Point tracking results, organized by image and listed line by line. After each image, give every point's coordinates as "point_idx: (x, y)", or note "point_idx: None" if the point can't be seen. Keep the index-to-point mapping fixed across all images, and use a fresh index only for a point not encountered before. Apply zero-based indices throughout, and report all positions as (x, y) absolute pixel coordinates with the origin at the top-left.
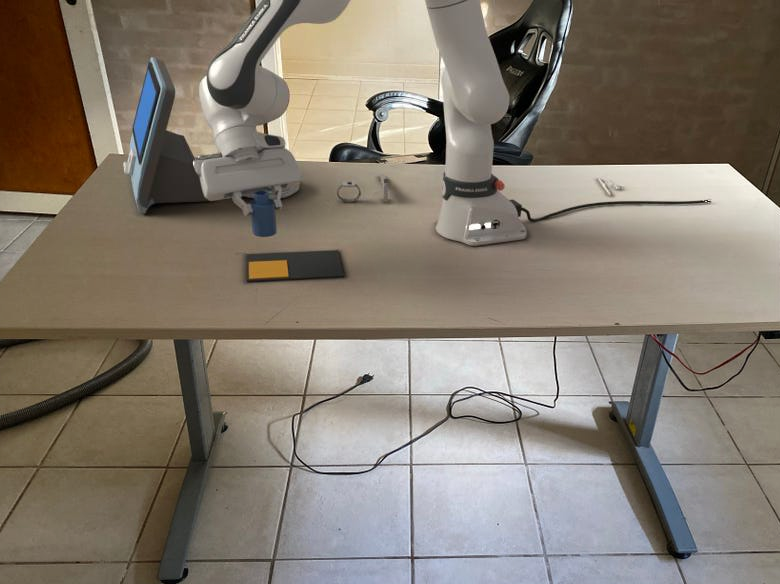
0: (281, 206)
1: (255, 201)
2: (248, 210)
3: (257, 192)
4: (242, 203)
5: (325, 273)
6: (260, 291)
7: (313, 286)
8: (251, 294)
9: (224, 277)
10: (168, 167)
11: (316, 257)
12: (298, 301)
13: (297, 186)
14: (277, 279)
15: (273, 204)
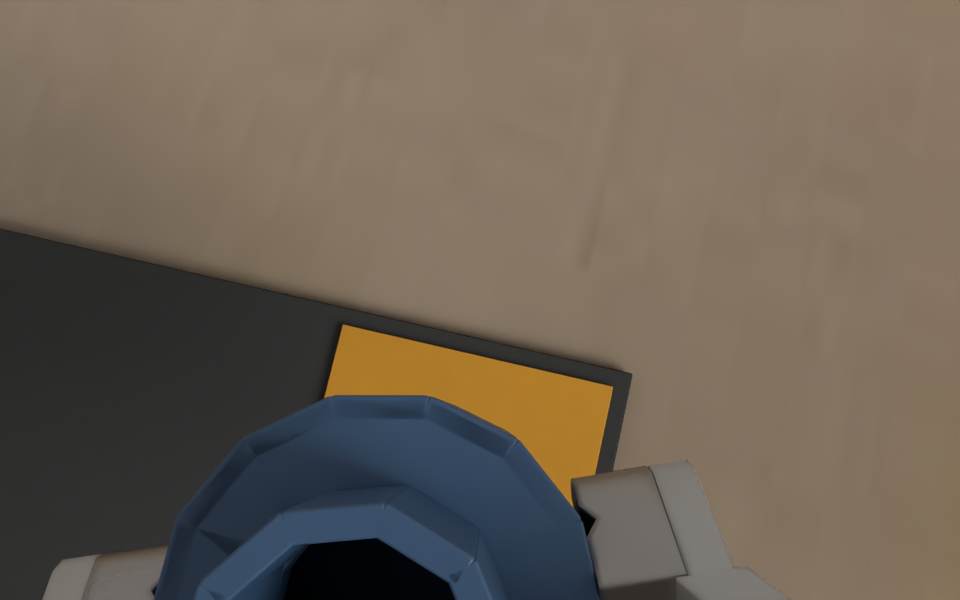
0: (81, 557)
1: (504, 594)
2: (651, 479)
3: None
4: (759, 583)
5: (82, 296)
6: (572, 213)
7: (225, 167)
8: (637, 192)
9: (763, 506)
10: None
11: (41, 586)
12: (380, 5)
13: None
14: (424, 327)
15: (206, 481)
